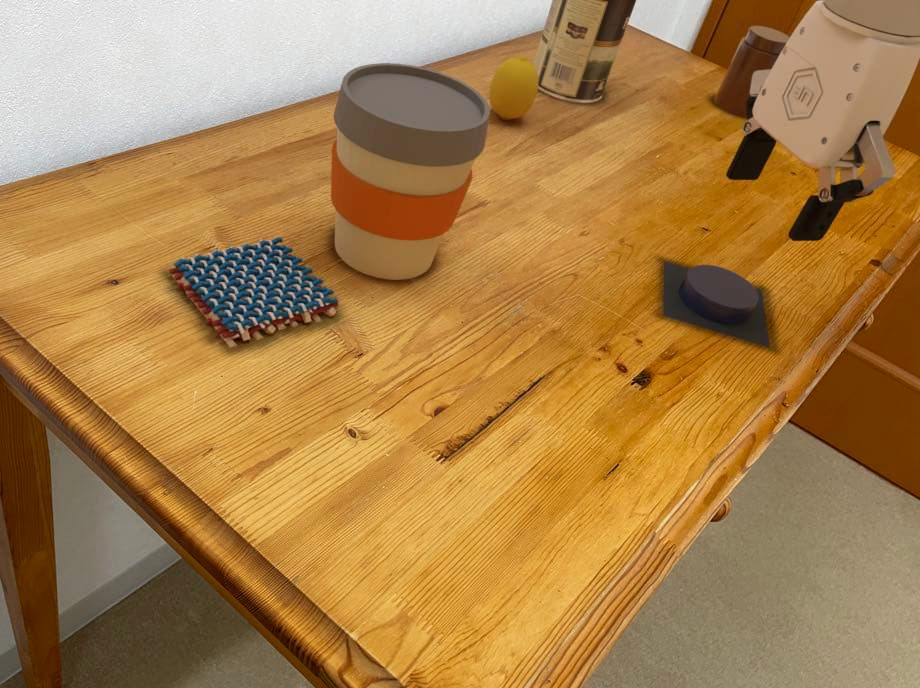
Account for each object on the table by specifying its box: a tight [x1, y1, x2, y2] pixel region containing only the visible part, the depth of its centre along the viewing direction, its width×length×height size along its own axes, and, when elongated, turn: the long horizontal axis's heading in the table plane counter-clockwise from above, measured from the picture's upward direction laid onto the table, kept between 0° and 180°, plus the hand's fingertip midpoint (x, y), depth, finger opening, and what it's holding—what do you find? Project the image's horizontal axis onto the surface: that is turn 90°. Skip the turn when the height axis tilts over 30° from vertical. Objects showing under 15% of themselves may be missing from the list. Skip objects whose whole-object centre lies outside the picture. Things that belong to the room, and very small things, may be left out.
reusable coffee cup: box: [330, 62, 491, 281], centre depth 72 cm, size 13×12×15 cm
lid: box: [679, 264, 759, 324], centre depth 80 cm, size 7×7×2 cm
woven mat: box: [168, 236, 339, 349], centre depth 69 cm, size 10×11×2 cm
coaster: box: [662, 260, 771, 349], centre depth 81 cm, size 10×10×1 cm
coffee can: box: [533, 0, 637, 104], centre depth 110 cm, size 10×10×14 cm
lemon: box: [489, 55, 539, 121], centre depth 101 cm, size 6×6×8 cm
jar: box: [713, 25, 791, 118], centre depth 117 cm, size 6×6×11 cm
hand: (771, 207), depth 74 cm, fingers open, 9 cm apart
